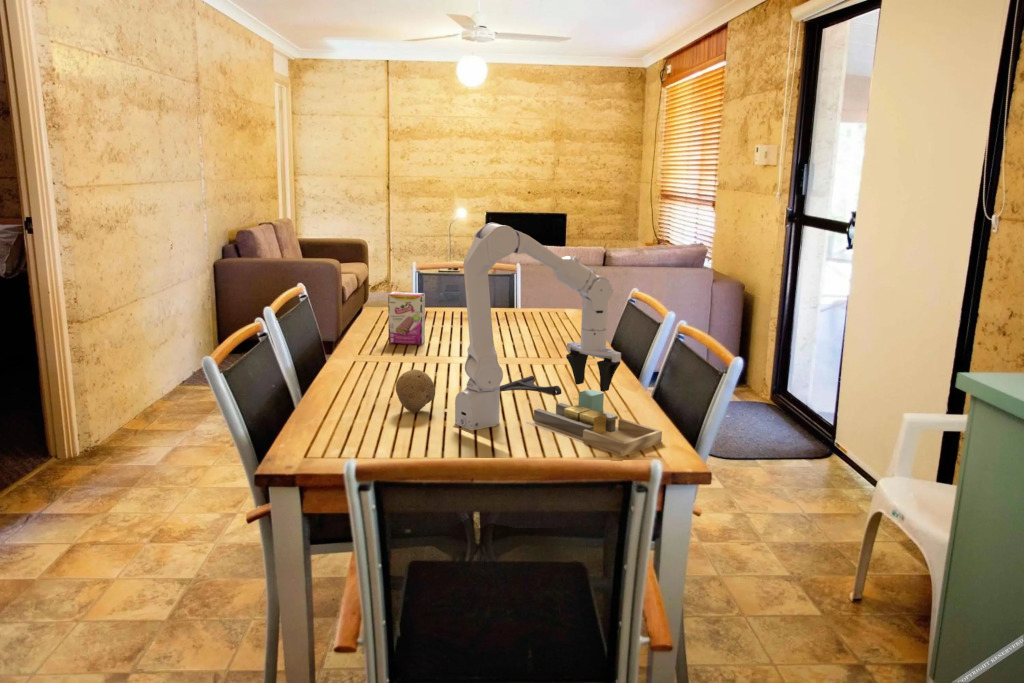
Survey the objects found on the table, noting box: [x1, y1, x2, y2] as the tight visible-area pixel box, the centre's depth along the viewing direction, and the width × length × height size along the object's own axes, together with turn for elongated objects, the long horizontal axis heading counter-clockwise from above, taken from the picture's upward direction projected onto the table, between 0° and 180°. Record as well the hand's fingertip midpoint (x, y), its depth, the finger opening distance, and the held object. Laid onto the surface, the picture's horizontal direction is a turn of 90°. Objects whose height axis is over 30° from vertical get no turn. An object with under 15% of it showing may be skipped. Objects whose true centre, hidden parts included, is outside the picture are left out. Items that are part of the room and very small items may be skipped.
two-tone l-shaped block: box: [577, 389, 618, 420], centre depth 175 cm, size 5×8×6 cm, turn 43°
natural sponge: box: [395, 368, 436, 414], centre depth 178 cm, size 9×9×10 cm
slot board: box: [526, 402, 663, 457], centre depth 164 cm, size 13×27×4 cm, turn 43°
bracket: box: [500, 375, 562, 396], centre depth 200 cm, size 14×15×3 cm
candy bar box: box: [387, 291, 426, 346], centre depth 249 cm, size 11×5×16 cm, turn 84°
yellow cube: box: [579, 410, 607, 434], centre depth 164 cm, size 4×4×4 cm
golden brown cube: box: [564, 404, 591, 421], centre depth 167 cm, size 4×4×4 cm
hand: (591, 387), depth 176 cm, fingers open, 7 cm apart
